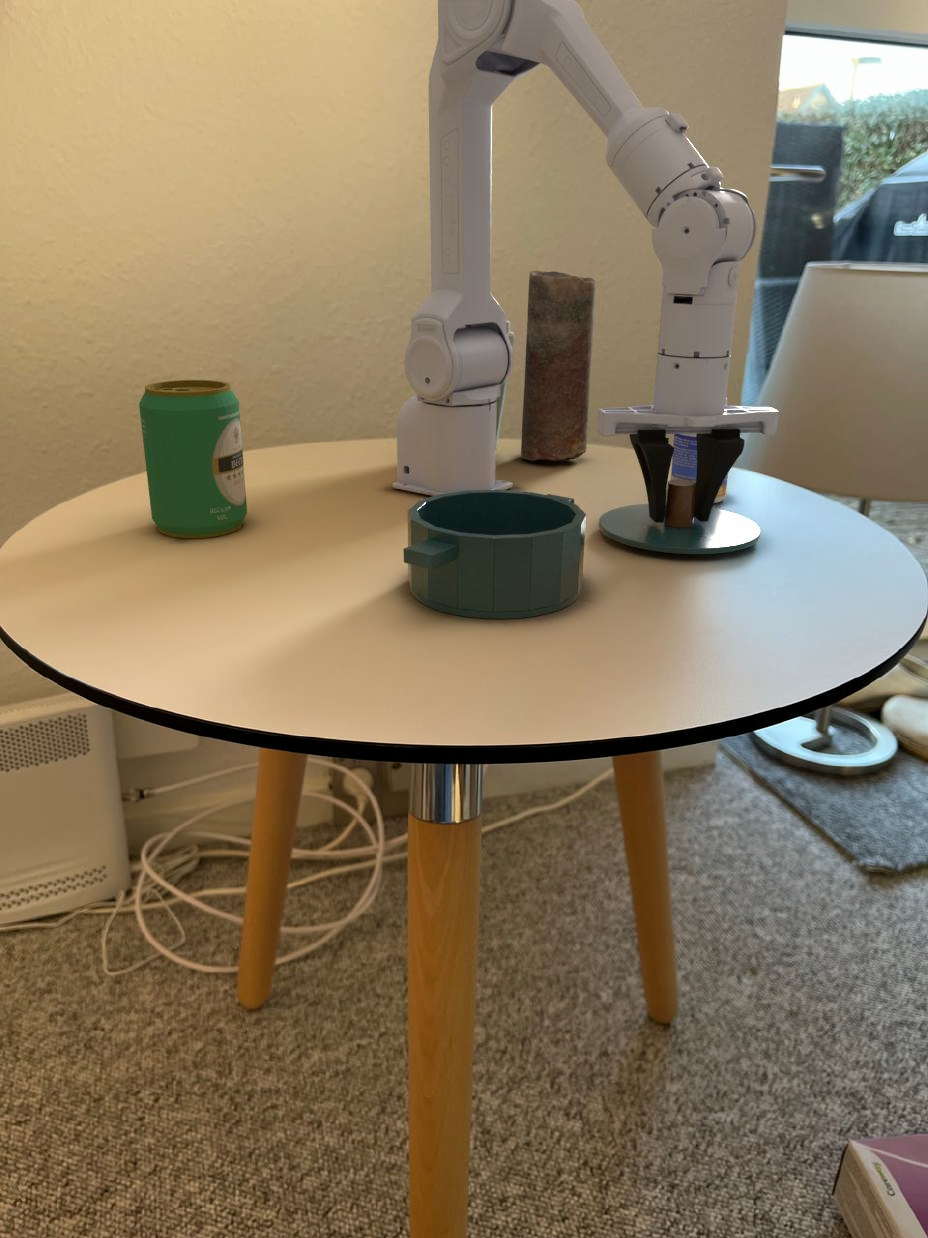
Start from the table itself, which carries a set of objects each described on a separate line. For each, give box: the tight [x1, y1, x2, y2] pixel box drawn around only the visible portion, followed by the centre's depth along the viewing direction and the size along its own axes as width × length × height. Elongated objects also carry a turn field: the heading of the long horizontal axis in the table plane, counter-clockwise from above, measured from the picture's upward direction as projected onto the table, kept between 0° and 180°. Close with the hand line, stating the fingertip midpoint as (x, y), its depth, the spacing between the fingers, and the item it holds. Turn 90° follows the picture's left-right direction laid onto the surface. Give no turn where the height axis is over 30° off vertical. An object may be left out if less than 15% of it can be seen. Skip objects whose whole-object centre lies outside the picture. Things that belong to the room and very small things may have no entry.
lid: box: [598, 479, 761, 555], centre depth 83 cm, size 13×13×5 cm
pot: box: [403, 489, 587, 620], centre depth 70 cm, size 12×18×6 cm
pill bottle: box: [670, 396, 729, 504], centre depth 94 cm, size 5×5×10 cm
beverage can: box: [138, 379, 248, 539], centre depth 83 cm, size 8×8×12 cm
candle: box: [520, 269, 597, 462], centre depth 107 cm, size 8×7×20 cm
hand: (678, 519), depth 83 cm, fingers open, 3 cm apart
